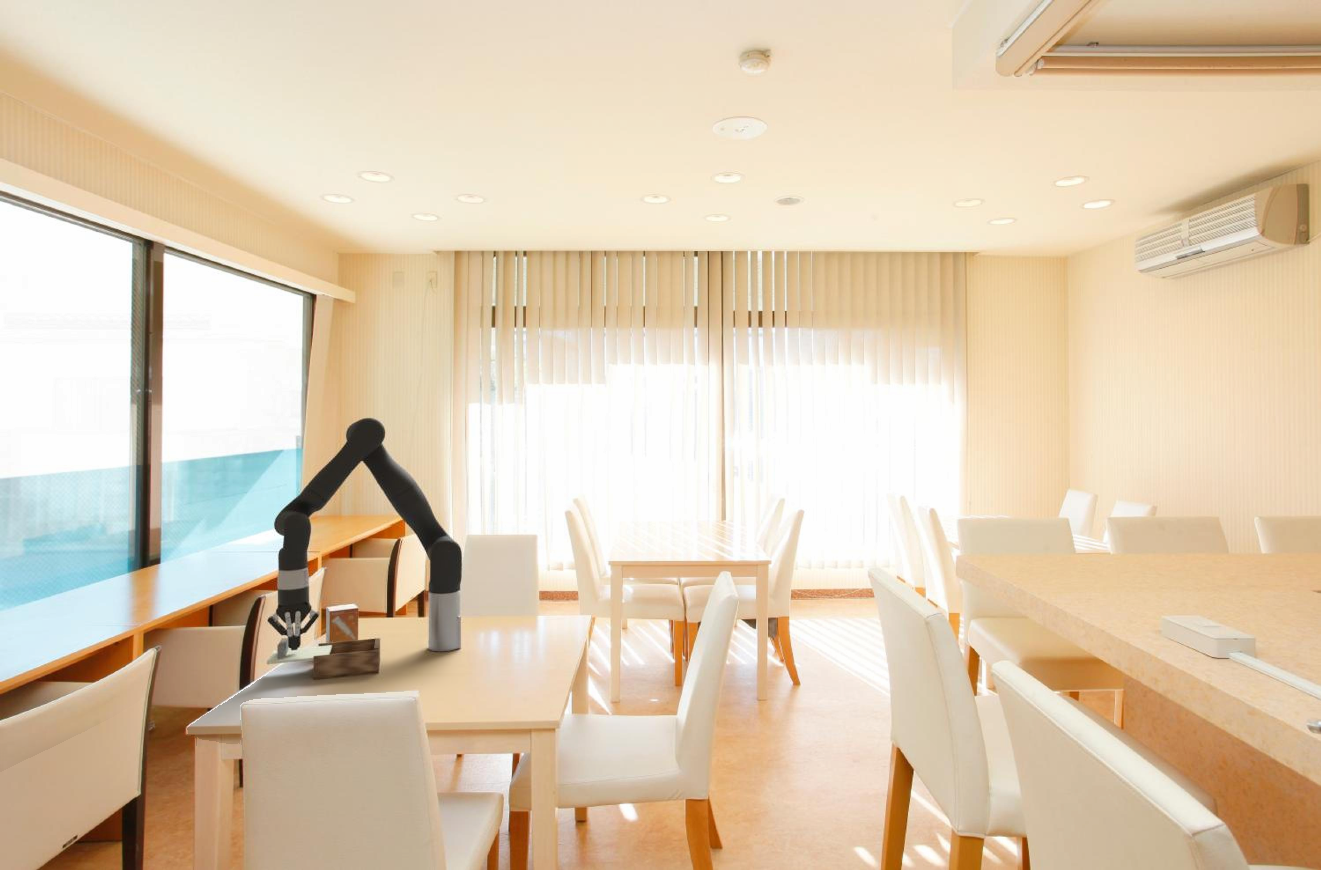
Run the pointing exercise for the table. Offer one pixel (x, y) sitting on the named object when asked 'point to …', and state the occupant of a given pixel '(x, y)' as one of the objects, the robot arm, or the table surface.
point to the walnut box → (348, 659)
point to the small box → (341, 623)
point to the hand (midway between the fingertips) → (294, 649)
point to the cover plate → (296, 653)
